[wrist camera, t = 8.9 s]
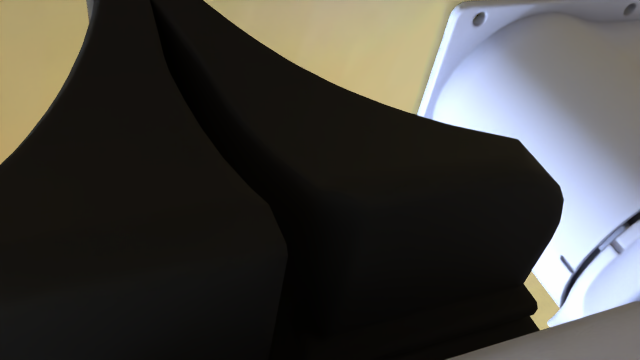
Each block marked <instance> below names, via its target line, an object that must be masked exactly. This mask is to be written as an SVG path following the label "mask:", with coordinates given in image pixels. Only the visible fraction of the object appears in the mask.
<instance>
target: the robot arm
mask: <svg viewBox="0 0 640 360" xmlns="http://www.w3.org/2000/svg"><path fill="white" fill-rule="evenodd" d="M478 13H480V14H479V15H478V17H476V18H475V16H476V15H477V14H478ZM474 18H475V19H474ZM531 271H532V272H533V273H534V275H535V276H536V277H537V279H538V280H539V281H540V283H541V284H542V285H543V286H544V288H545V289H546V290H547V292H548V293H549V294H550V296H551V297H552V298H553V300H554V301H555V302H556V304H557V305H558V306H559V308H560V310H559V311H558V312H557V313H556V314H555V315H554V316H553V317H552V318H551V319H550V320H549V321H548V323H547V324H548V325H549V327H550V328H547V329H543V330H539V328H538V327H537V326H536V324H535V323H534V321H533V320H532V319H531V317H530V315H534V313H535V312H536V310H537V309H538V308H537V302H536V300H535V299H534V298H533V296H532V295H531V293H530V292H529V291H528V289H527V288H526V287H525V285H524V284H523V283H524V282H525V280H526V279H527V277H528V275H529V274H530V272H531ZM0 360H640V0H477V1H465V2H462V3H460V4H459V5H457V6H456V7H455V8H454V9H453V11H452V13H451V15H450V17H449V20H448V23H447V26H446V29H445V33H444V36H443V39H442V42H441V45H440V48H439V51H438V54H437V57H436V60H435V63H434V66H433V69H432V72H431V75H430V78H429V81H428V84H427V87H426V90H425V93H424V96H423V99H422V102H421V105H420V108H419V111H418V114H417V115H415V114H411V113H408V112H405V111H402V110H399V109H396V108H393V107H390V106H387V105H384V104H382V103H379V102H376V101H374V100H371V99H369V98H366V97H364V96H361V95H359V94H356V93H354V92H351V91H349V90H346V89H344V88H342V87H340V86H337V85H335V84H333V83H331V82H329V81H327V80H325V79H323V78H321V77H319V76H317V75H315V74H313V73H311V72H309V71H307V70H305V69H303V68H301V67H299V66H298V65H296V64H294V63H292V62H291V61H289V60H287V59H285V58H284V57H282V56H281V55H279V54H277V53H276V52H274V51H273V50H271V49H270V48H268V47H266V46H265V45H263V44H262V43H260V42H259V41H257V40H256V39H254V38H253V37H251V36H250V35H248V34H247V33H246V32H244V31H243V30H241V29H240V28H239V27H237V26H236V25H235V24H233V23H232V22H230V21H229V20H228V19H226V18H225V17H224V16H222V15H221V14H220V13H219V12H217V11H216V10H215V9H213V8H212V7H211V6H210V5H208V4H207V3H206V2H204V1H203V0H93V10H92V15H91V19H90V23H89V26H88V29H87V33H86V36H85V39H84V42H83V45H82V47H81V50H80V52H79V54H78V56H77V59H76V61H75V63H74V65H73V67H72V69H71V72H70V74H69V76H68V78H67V80H66V81H65V83H64V85H63V87H62V88H61V90H60V92H59V93H58V95H57V97H56V98H55V100H54V101H53V103H52V104H51V106H50V107H49V109H48V110H47V112H46V113H45V114H44V116H43V117H42V118H41V120H40V121H39V122H38V123H37V125H36V126H35V127H34V129H33V130H32V131H31V132H30V134H29V135H28V136H27V137H26V139H25V140H24V141H23V142H22V143H21V144H20V145H19V147H18V148H17V149H16V150H15V151H14V152H13V153H12V154H11V155H10V156H9V157H8V158H7V159H6V160H5V161H4V162H3V163H2V164H1V165H0Z"/></svg>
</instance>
